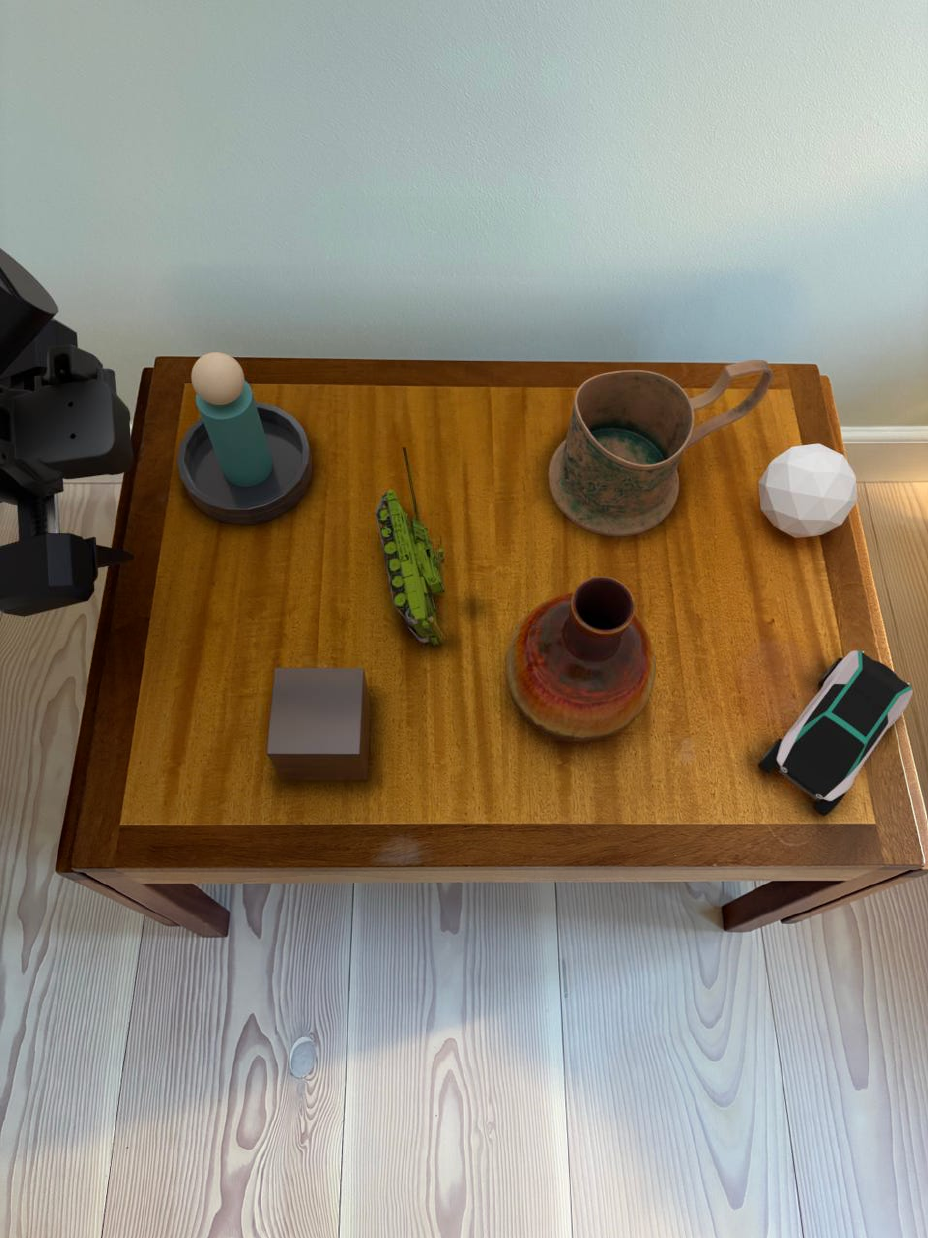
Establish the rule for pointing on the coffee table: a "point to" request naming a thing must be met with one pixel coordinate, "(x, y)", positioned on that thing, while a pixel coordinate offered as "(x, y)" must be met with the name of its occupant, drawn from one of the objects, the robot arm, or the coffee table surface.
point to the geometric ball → (807, 490)
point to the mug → (635, 446)
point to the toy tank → (411, 565)
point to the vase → (582, 663)
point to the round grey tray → (258, 500)
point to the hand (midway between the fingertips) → (125, 498)
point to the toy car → (839, 728)
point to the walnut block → (320, 724)
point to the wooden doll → (231, 419)
